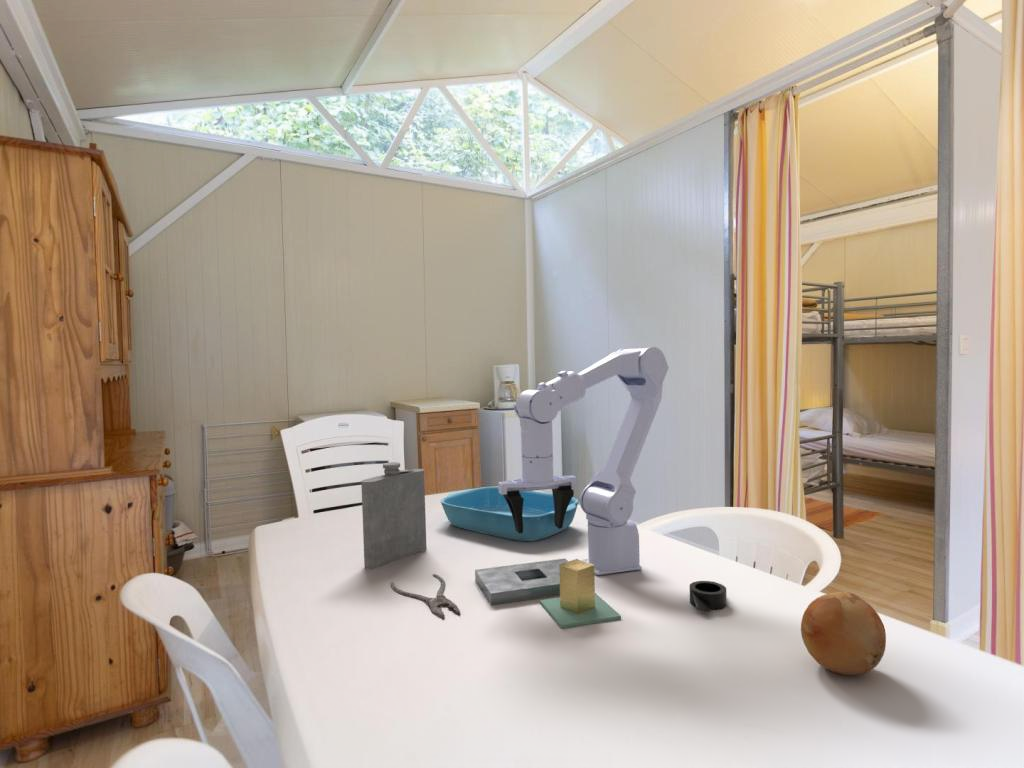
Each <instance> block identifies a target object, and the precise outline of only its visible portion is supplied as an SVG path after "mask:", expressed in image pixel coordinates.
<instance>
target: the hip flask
mask: <svg viewBox="0 0 1024 768" xmlns="http://www.w3.org/2000/svg"><path fill="white" fill-rule="evenodd" d="M399 468H401V463H400V462H397V461H396V462H385V463H383V464H382V469H384V470H383V472H384V474H382V475H378V476H374V477H373V476H372V477H369V478H366V479H362V480H361V482H360V483H361V484H360V486H361V506H362V508H361V509H362V510H361V511H362V513H361V514H362V532H363V533H362V535H363V538H362V539H363V558H364V559H363V560H364V561H363V562H364V564H363V565H364V569H367V570H368V569H369V570H373V569H377V568H378V569H379V567H382V566H384V565H386V564H389V563H391V562H394V561H396V560H399V559H402V558H404V557H407V556H410V555H413V554H418V553H421V552H424V551H426V550H427V521H426V519H427V518H426V497H425V496H426V495H425V494H426V491H425V490H426V489H425V469H423V468H413V469H412V468H411V469H408V468H407V469H399Z"/></svg>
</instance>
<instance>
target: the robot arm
mask: <svg viewBox="0 0 1024 768" xmlns="http://www.w3.org/2000/svg"><path fill="white" fill-rule="evenodd" d="M668 371H669V364H668V361H667V359H666V357H665V353H664V352H663V351H662V350H661V349H660V348H658V347H656V346H650V347H640V348H638V347H637V348H636V347H635V348H628V347H626V348H625V347H624V348H622V347H621V348H620V349H618V350H617V351H613V352H611V353H610V354H608V355H607V356H606V357H603V358H602V359H600V360H598V361H597V362H595V363H594V364H592V365H591V366H588V367H587V368H585V369H583V370H581V371H580V372H578V373H577V372H575V371H571V370H570V371H569V370H568V371H567V370H561V371H559V372H558V373H557V377H555V378H553V379H551V380H549V381H547V382H545V381H544V382H543V381H542V382H539V383H538V384H537V387H536V389H526V390H524V391H522V392H521V393H520V394H519V396H518V397H517V399H516V402H515V404H514V405H513V410H514V414H515V415H516V416H517V417H518V419H519V421H520V422H519V427H520V441H521V442H520V446H521V447H520V449H521V477H520V478H516V479H511V480H505V481H498V482H497V483H498V484H497V487H498V488H499V493H500V494H502V495H503V496H504V498H505V500H506V502H507V504H508V506H509V508H510V511H511V513H512V516H513V519H514V523H515V528H516V531H517V532H518V533H523V518H522V512H523V501H524V498H522V497H521V494H519V492H525V491H545V490H551V492H552V493H551V494H553V500H554V522H555V526H556V527H557V528H559V529H560V528H562V527H563V521H564V517H565V513H566V510H567V508H568V505H569V503H570V501H571V499H572V497H573V498H574V495H575V491H574V488H577V486H578V485H577V483H578V482H577V481H578V479H577V476H575V475H572V474H571V475H554V451H553V450H554V447H553V446H554V444H553V443H554V441H553V440H554V439H553V420H555V418H556V417H557V416H558V414H559V412H561V411H562V410H564V409H566V408H567V407H570V406H571V405H573V404H575V403H577V402H579V401H580V400H582V399H584V397H585V396H586V392H587V389H589V388H592V387H594V386H595V385H598V384H600V383H602V382H604V381H606V380H609V379H610V378H614V377H615V376H617V378H618V379H619V380H620V382H621V383H622V385H623V386H624V388H625V389H626V391H628V392H629V395H630V397H631V400H630V402H629V405H628V406H627V410H626V412H625V414H624V418H623V419H622V422H621V423H620V424H621V425H620V426H619V430H618V432H617V435H616V437H615V439H614V442H613V445H612V447H611V450H610V451H609V455H608V457H607V460H606V461H605V465H604V467H603V469H600V471H598V472H597V473H595V474H594V475H592V477H591V479H590V482H589V483H588V485H587V486H585V487H584V488H583V490H582V492H581V493H580V496H579V505H580V508H581V510H582V511H583V513H584V514H585V516H586V517H585V519H586V520H587V545H588V546H587V548H588V549H587V550H588V558H586V559H581V561H584V562H587V563H590V564H593V565H594V575H596V576H602V575H608V574H610V575H611V574H616V573H623V572H624V573H625V572H630V571H631V572H632V571H637V570H638V571H639V570H642V566H641V565H640V564H641V563H640V533H639V529H638V526H637V524H636V523H635V521H634V520H632V519H630V518H631V517H632V514H633V511H634V499H635V495H636V492H637V491H636V489H635V487H634V486H633V483H632V481H631V478H632V475H633V473H634V471H635V468H636V465H637V463H638V461H639V458H640V455H641V453H642V449H643V448H644V445H645V443H646V439H647V437H648V434H649V432H650V429H651V426H652V425H653V422H654V419H655V416H656V414H657V411H658V409H659V406H660V404H661V401H662V395H663V386H664V385H663V384H664V381H665V378H666V376H667V373H668Z"/></svg>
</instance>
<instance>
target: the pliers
mask: <svg viewBox="0 0 1024 768" xmlns="http://www.w3.org/2000/svg"><path fill="white" fill-rule="evenodd" d="M432 576H433V577H434V578H436V579H437V580H438V581H439V582H440V587H439V588H438V590H437V592H436V597H427V596H424V595H422V594H417V593H412V592H408V591H404V590H401V589H399V588H398V587H397V586H396V585H395V583H394V581H391V583H390V587H391V589H392V590H393V591H394V592H396V594H399V595H402V596H405V597H409V598H411V599H416V600H419V601H421V602H423V603H425V604H426V605H427V606H428V608H429V609H430V611H431V614H434V615H435V616H437V617H439V618H440V619H442V620H445V617H446V615H445V613H444V611H443V610H442V607H443V608H445V607H447V609H448V610H449V611H452V612H453V613H455V614H456V615H458V616H461V610H460V608H458V606H457V604H455V603H454V602H453V601H452V600H450V599H449V598H447V597H446V596H445V595H444V594H445V593H444V592H445V589H446V581H445V580H444V578H442V577H441V576H440V575H438V574H436V573H432Z"/></svg>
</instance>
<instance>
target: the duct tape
mask: <svg viewBox="0 0 1024 768" xmlns="http://www.w3.org/2000/svg"><path fill="white" fill-rule="evenodd" d="M727 602H728V601H727V586H725V585H724V584H722V583H719V582H716V581H711V580H698V581H693V582H691V583H690V584H689V604H690V605H691V606H693V607H695V608H696V609H701V610H703V611H705V612H710V611H720V610H723V609H725V608H726V607H727V605H728V604H727Z"/></svg>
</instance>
